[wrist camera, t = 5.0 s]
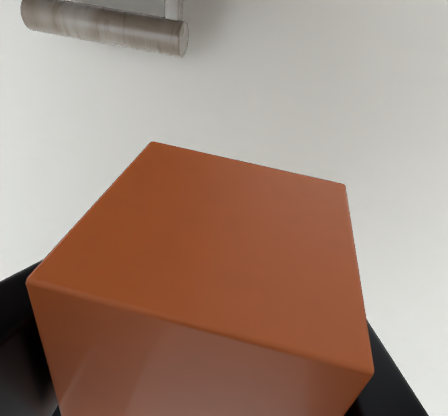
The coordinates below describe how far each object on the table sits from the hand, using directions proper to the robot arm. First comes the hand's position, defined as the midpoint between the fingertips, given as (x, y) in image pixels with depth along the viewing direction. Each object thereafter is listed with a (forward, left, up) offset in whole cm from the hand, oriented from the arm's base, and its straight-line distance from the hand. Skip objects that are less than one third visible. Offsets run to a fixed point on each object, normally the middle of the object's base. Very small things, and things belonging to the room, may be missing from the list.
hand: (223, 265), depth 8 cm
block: (0, 0, -1) cm, 1 cm away
